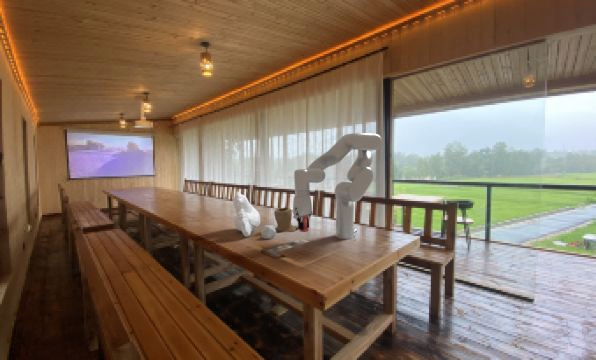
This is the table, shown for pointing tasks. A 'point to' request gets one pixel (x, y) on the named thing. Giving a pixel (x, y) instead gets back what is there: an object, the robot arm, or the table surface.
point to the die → (268, 232)
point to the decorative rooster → (245, 215)
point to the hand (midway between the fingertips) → (303, 227)
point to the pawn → (304, 224)
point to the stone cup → (284, 220)
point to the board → (274, 251)
